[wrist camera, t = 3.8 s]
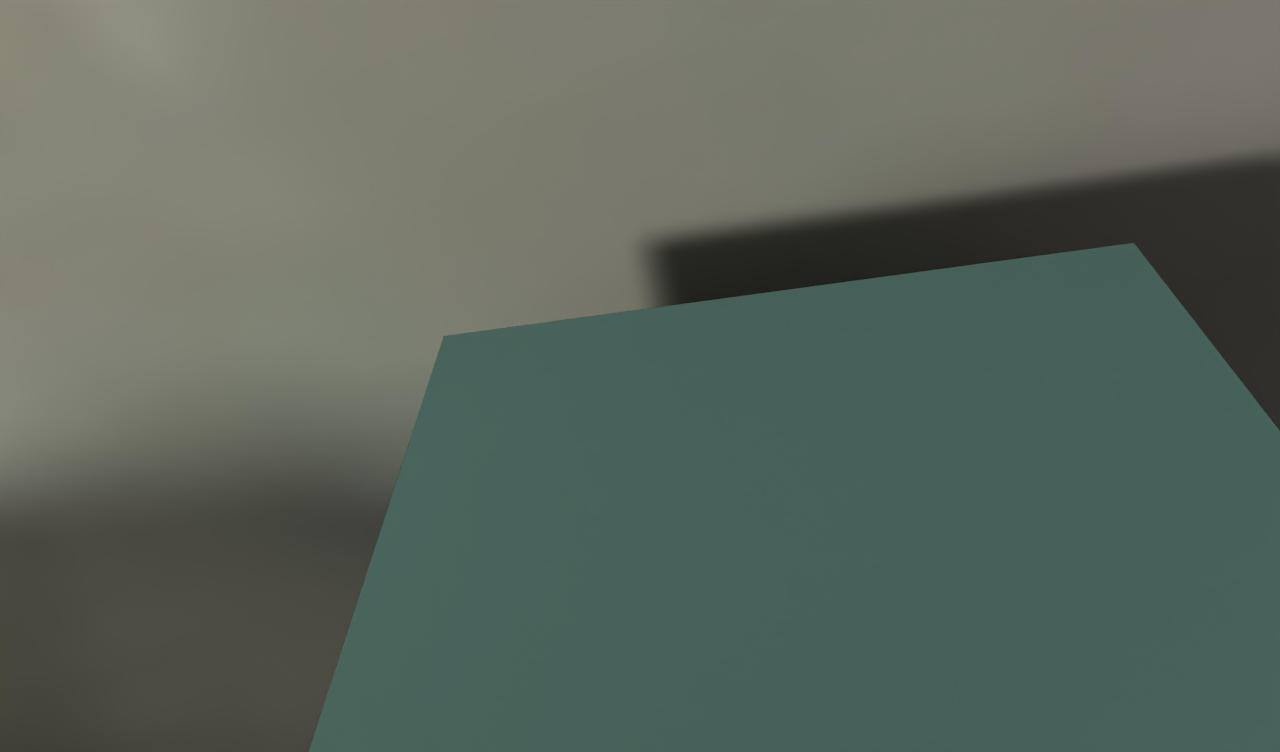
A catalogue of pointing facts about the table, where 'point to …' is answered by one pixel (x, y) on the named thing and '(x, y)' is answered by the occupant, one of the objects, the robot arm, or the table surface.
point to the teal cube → (832, 529)
